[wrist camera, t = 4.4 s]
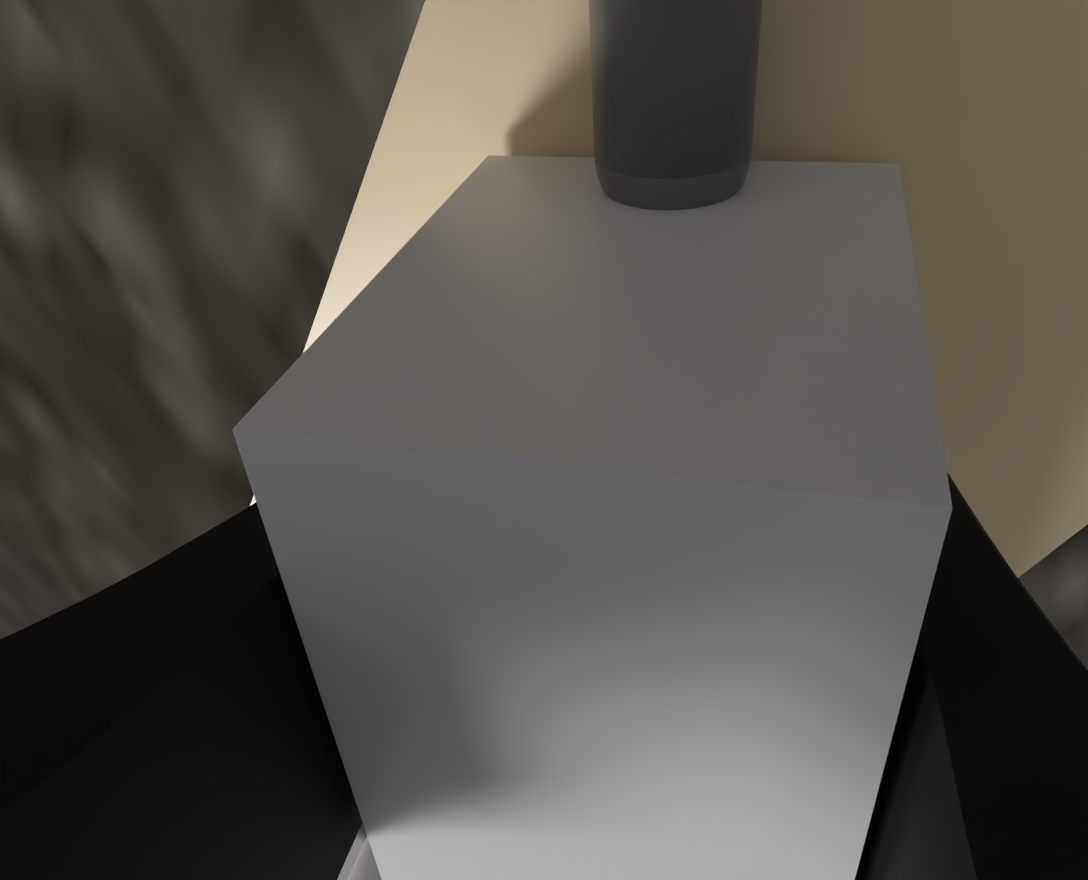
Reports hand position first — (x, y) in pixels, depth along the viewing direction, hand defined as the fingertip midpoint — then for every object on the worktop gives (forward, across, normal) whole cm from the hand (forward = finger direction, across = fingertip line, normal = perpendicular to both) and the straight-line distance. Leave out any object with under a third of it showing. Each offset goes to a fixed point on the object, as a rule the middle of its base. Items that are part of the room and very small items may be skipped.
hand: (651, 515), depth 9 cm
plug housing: (+2, 0, -2) cm, 3 cm away
